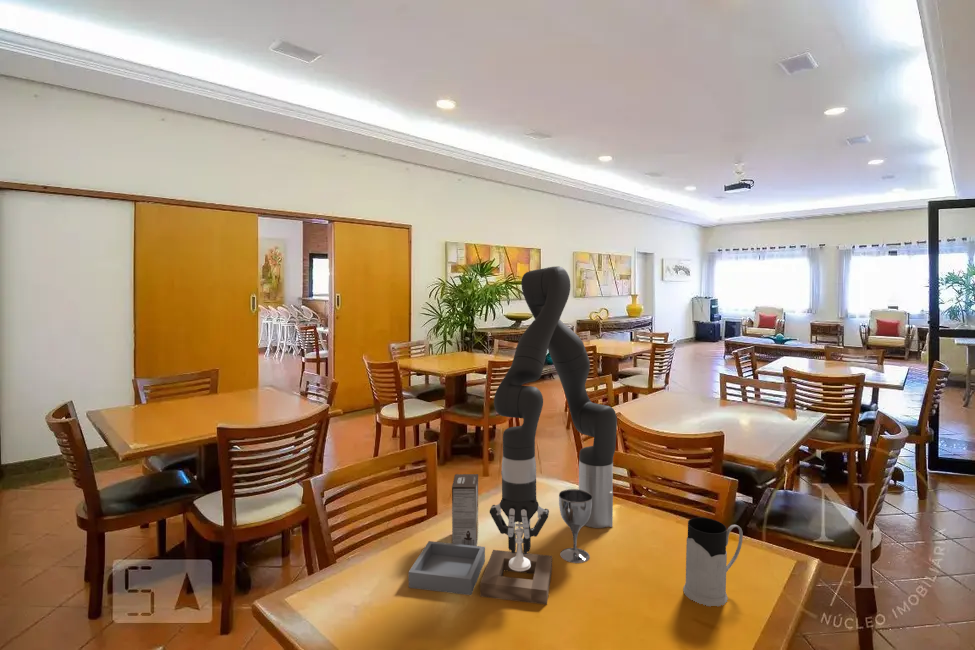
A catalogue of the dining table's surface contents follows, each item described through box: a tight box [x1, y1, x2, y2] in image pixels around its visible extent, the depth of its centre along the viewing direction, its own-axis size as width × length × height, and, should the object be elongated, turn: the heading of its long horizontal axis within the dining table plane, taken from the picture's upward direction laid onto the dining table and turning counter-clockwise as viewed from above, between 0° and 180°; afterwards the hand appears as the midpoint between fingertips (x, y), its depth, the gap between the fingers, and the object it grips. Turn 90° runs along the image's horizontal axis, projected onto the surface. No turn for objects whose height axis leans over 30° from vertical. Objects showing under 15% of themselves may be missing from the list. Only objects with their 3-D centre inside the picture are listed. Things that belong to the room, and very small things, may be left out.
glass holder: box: [683, 517, 744, 607], centre depth 108 cm, size 9×14×15 cm, turn 111°
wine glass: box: [558, 488, 592, 564], centre depth 122 cm, size 8×8×15 cm
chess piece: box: [509, 522, 531, 571], centre depth 111 cm, size 5×5×10 cm
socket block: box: [479, 549, 553, 605], centre depth 111 cm, size 14×14×3 cm
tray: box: [408, 540, 486, 596], centre depth 115 cm, size 14×14×4 cm
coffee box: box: [451, 473, 479, 546], centre depth 130 cm, size 9×6×16 cm
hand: (519, 551), depth 111 cm, fingers closed on chess piece
